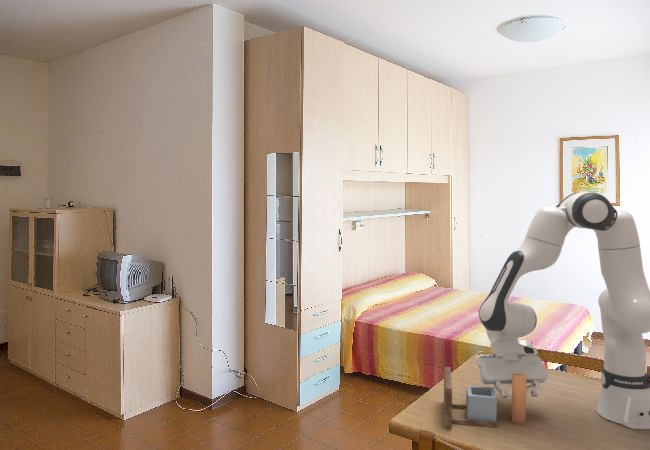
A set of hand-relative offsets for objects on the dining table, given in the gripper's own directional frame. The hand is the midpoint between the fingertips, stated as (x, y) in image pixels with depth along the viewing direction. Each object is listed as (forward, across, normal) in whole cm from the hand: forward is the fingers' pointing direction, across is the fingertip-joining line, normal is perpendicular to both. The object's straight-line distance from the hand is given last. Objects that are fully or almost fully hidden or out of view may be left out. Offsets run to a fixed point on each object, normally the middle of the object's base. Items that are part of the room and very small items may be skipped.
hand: (519, 396), depth 151 cm
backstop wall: (+2, -14, +9) cm, 17 cm away
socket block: (+3, -11, +8) cm, 14 cm away
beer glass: (-15, +14, +26) cm, 33 cm away
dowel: (+5, 0, +6) cm, 8 cm away
